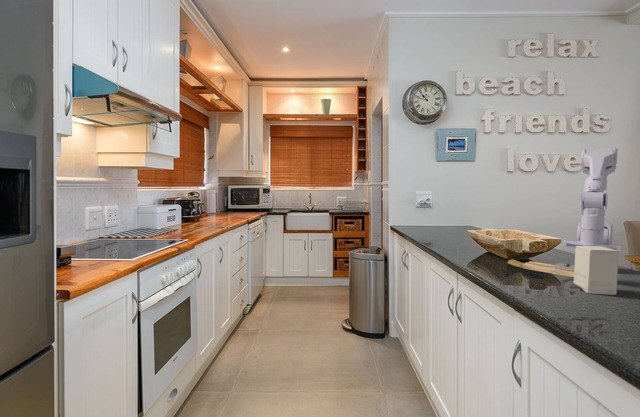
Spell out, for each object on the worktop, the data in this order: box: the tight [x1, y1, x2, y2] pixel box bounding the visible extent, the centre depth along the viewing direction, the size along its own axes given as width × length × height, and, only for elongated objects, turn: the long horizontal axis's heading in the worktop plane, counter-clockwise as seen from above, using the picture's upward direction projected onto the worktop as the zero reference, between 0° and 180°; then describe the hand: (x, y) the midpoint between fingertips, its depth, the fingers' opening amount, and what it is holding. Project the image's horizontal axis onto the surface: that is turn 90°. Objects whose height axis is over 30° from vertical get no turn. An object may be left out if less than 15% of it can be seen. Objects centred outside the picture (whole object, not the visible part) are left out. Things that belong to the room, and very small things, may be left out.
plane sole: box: [519, 260, 574, 278], centre depth 114 cm, size 7×17×2 cm, turn 39°
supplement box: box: [573, 246, 620, 296], centre depth 95 cm, size 7×7×13 cm
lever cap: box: [553, 262, 575, 271], centre depth 110 cm, size 5×6×2 cm
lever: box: [507, 258, 525, 268], centre depth 122 cm, size 4×1×5 cm
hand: (589, 271), depth 105 cm, fingers closed
